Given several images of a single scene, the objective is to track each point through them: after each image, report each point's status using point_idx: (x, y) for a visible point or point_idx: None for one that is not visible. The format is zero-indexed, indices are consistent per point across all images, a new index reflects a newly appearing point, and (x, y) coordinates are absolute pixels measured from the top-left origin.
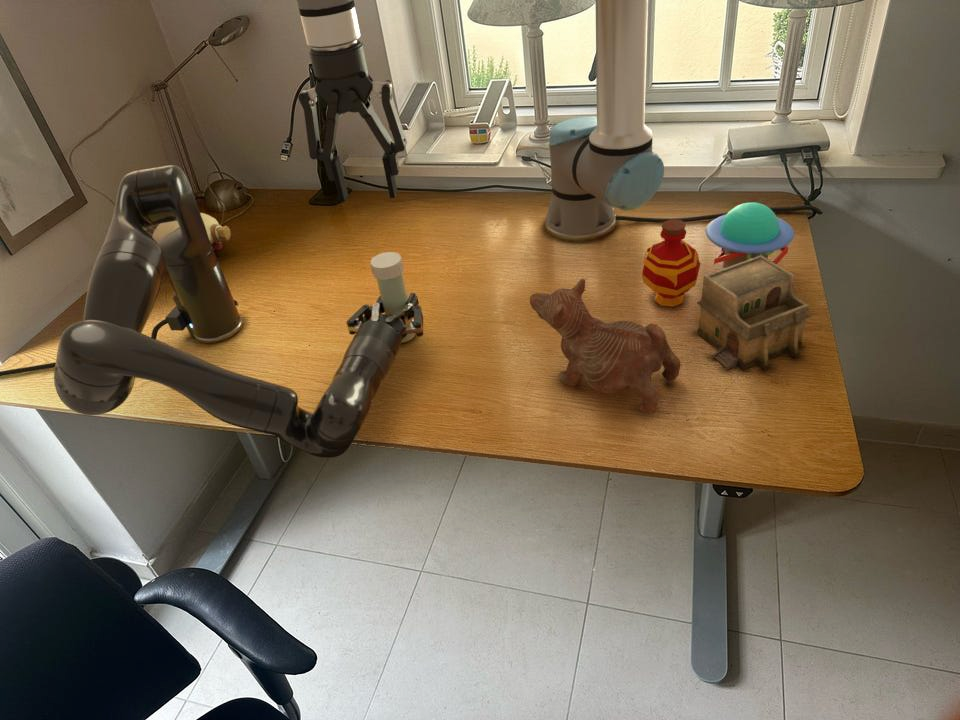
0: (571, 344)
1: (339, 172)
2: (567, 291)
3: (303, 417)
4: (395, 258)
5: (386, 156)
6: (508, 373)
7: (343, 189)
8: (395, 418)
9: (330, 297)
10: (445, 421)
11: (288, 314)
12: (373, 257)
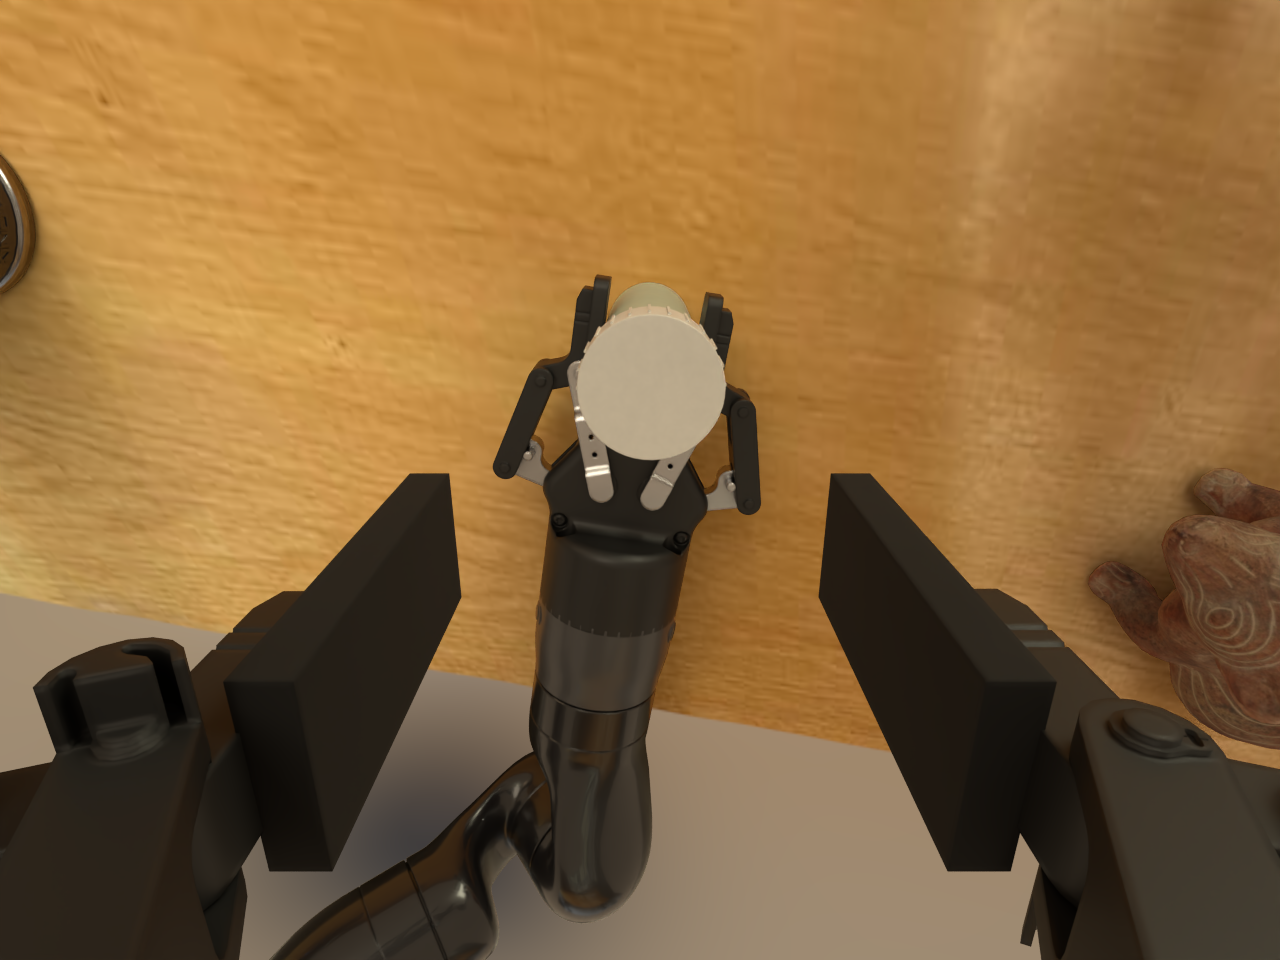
0: (1207, 656)
1: (379, 699)
2: None
3: (494, 832)
4: (698, 386)
5: (1030, 940)
6: (961, 531)
7: (433, 600)
8: (673, 658)
9: (302, 16)
10: (792, 674)
11: (175, 132)
12: (584, 358)
